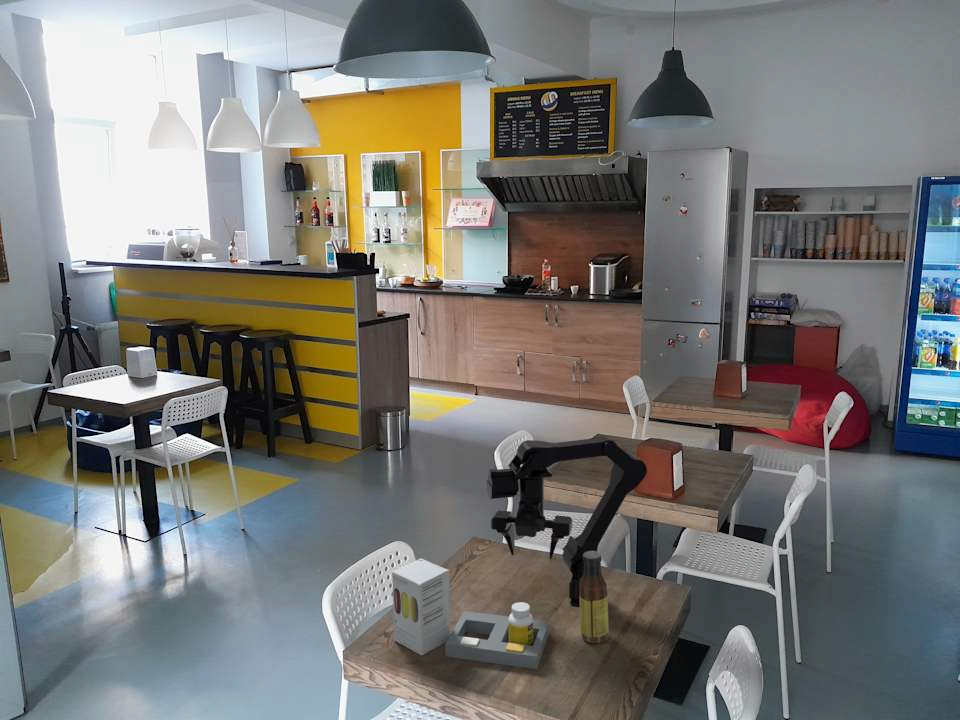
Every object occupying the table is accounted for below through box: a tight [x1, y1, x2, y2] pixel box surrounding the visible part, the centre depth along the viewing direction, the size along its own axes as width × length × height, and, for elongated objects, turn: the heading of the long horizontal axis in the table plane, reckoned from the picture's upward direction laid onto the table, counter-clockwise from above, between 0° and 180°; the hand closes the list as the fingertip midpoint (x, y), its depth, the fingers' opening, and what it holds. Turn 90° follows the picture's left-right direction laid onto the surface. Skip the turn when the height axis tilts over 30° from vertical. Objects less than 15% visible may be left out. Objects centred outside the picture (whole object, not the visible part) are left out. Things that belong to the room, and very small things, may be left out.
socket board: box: [444, 610, 550, 670], centre depth 162 cm, size 20×14×3 cm
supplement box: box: [391, 557, 452, 656], centre depth 163 cm, size 10×9×17 cm
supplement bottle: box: [508, 601, 534, 646], centre depth 160 cm, size 5×5×10 cm
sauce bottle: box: [579, 551, 610, 644], centre depth 163 cm, size 6×6×20 cm
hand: (531, 556), depth 176 cm, fingers open, 9 cm apart
